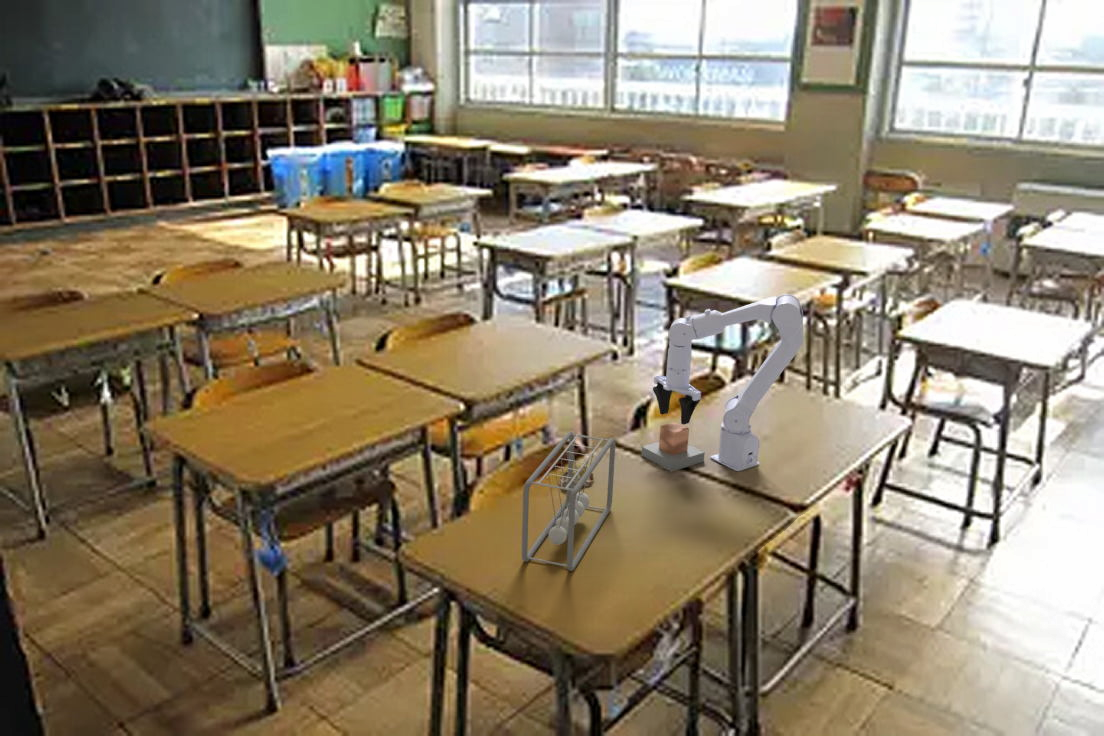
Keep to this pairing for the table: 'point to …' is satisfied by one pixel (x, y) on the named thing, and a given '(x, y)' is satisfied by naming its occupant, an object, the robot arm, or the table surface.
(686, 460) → the gray plinth
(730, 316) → the robot arm
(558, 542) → the newton's cradle
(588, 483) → the mineral rock
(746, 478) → the table surface
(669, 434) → the terracotta cube
